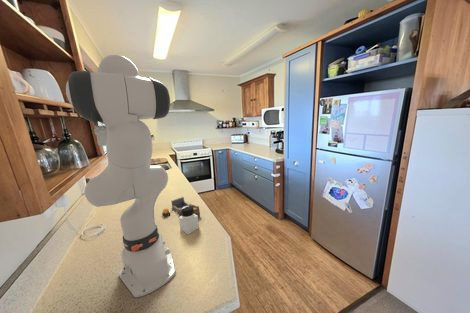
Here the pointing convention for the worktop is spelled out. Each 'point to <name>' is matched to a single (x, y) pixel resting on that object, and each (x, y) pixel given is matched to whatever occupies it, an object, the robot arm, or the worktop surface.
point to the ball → (165, 210)
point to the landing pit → (179, 204)
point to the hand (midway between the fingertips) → (125, 152)
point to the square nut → (166, 214)
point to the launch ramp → (196, 210)
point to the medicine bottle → (188, 220)
